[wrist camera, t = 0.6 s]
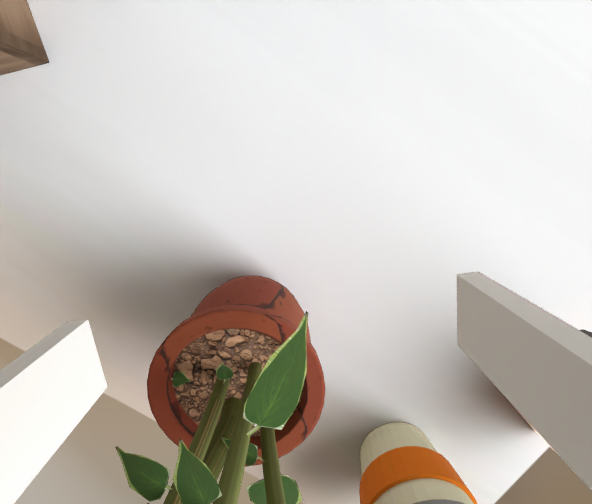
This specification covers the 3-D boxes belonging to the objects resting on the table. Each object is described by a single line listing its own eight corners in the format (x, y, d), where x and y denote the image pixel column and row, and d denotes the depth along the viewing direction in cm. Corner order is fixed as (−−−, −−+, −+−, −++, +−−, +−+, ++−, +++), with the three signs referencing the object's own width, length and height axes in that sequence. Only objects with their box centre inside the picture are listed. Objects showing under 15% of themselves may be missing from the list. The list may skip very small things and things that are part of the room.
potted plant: (177, 330, 41) (-343, 1097, 7) (244, 215, 38) (-110, 609, 4) (305, 398, 44) (362, 1214, 10) (378, 295, 41) (824, 950, 7)
